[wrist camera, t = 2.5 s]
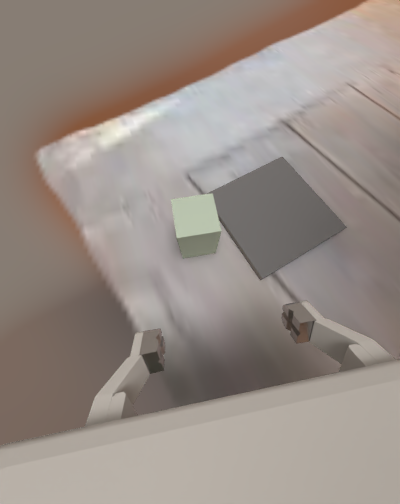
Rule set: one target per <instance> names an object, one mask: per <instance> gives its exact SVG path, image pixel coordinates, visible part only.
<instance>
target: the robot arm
mask: <svg viewBox="0 0 400 504" xmlns="http://www.w3.org/2000/svg"><path fill="white" fill-rule="evenodd" d="M282 309H283V311H284V312H283V313H282V322H283V324H284V326H285V328H286V329H288V330H289V331H290V335H291V337H292V338H293V340H294V341H295V342H296V344H297V343H303V342H309V341H310V343H311V344H313V345H314V346H316V347H317V348H319V349H320V350H322V351H323V352H325V353H326V354H327V355H329V356H330V357H332V358H333V359H335V360H336V361H338V362H339V363H340V364H341V367H340V370H339V372H338V373H333V374H328V375H324V376H319V377H314V378H310V379H305V380H300V381H296V382H291V383H287V384H282V385H277V386H273V387H268V388H263V389H259V390H254V391H249V392H245V393H240V394H235V395H231V396H226V397H222V398H217V399H212V400H208V401H203V402H198V403H194V404H189V405H184V406H180V407H175V408H171V409H166V410H161V411H157V412H152V413H148V414H143V415H138V414H137V412H136V411H135V409H134V407H133V404H134V402H135V401H136V399H137V397H138V395H139V394H140V392H141V390H142V388H143V386H144V385H145V383H146V381H147V379H148V378H149V376H150V374H151V373H156V372H160V371H164V361H165V359H164V356H163V355H164V353H165V342H164V338H163V336H162V331H161V329H154V330H148V331H142V332H136V334H135V337H134V341H133V345H132V350H131V354H130V357H129V358H127V359H126V360H125V361H124V362H123V364H122V365H121V366H120V367H119V368H118V370H117V371H116V372H115V373H114V374H113V376H112V377H111V378H110V379H109V381H108V382H107V383H106V384H105V386H104V387H103V388H102V389H101V390H100V391H99V393H98V394H97V395H96V396H95V399H94V402H93V404H92V407H91V410H90V413H89V416H88V419H87V422H86V425H85V427H82V428H77V429H73V430H68V431H64V432H59V433H54V434H49V435H45V436H40V437H36V438H31V439H27V440H21V441H16V442H12V443H7V444H4V445H2V446H0V504H400V359H398V360H396V359H395V358H393V357H392V356H391V355H390V354H389V353H388V352H387V351H386V350H385V349H383V348H382V347H381V346H380V345H379V344H378V343H377V342H376V341H374V340H373V339H371V338H369V337H367V336H364V335H362V334H360V333H358V332H356V331H354V330H351V329H349V328H347V327H345V326H343V325H340V324H338V323H336V322H334V321H332V320H329V319H325V318H324V317H323V316H322V315H321V314H320V313H319V312H318V311H317V310H316V309H315V308H314V307H313V306H312V305H311V304H310V303H309V302H308V301H300V302H295V303H290V304H285V305H283V308H282Z"/></svg>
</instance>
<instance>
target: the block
mask: <svg viewBox="0 0 400 504" xmlns="http://www.w3.org/2000/svg"><path fill="white" fill-rule="evenodd" d="M171 203H172V210H173V216H174V223H175V230H176V237H177V241H178V244H179V247H180V250H181V253H182V257H183V258H189V257H195V256H201V255H207V254H213V253H216V249H217V246H218V242H219V238H220V234H221V227H220V223H219V218H218V214H217V210H216V205H215V201H214V197H213V193H211V194H204V195H198V196H191V197H184V198H177V199H171Z"/></svg>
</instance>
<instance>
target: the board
mask: <svg viewBox="0 0 400 504" xmlns="http://www.w3.org/2000/svg"><path fill="white" fill-rule="evenodd" d="M211 193H213V197H214V201H215V205H216V210H217V214H218V218H219V220H220V221H221V223H222V224H223V226H224V227H225V229H226V230H227V232H228V233H229V235H230V236H231V238H232V239H233V240H234V242H235V243H236V245H237V246H238V248H239V249H240V251H241V252H242V254H243V255H244V257H245V258H246V260H247V261H248V263H249V264H250V265H251V267H252V268H253V270H254V271H255V273H256V274H257V276H258V277H259V279H260V280H261V279H263V278H265V277H267V276H268V275H270V274H271V273H273V272H275V271H276V270H278V269H280V268H281V267H283V266H285V265H286V264H288V263H289V262H291V261H293V260H294V259H296V258H298V257H299V256H301V255H302V254H304V253H306V252H307V251H309V250H311V249H312V248H314V247H316V246H317V245H319V244H320V243H322V242H324V241H325V240H327V239H329V238H330V237H332V236H333V235H335V234H337V233H338V232H340V231H342V230H343V229H345V228H347V227H346V226H345V225H344V224H343V222H342V221H341V220H340V219H339V218H338V217H337V216H336V215H335V214H334V213H333V211H332V210H331V209H330V208H329V207H328V206H327V205H326V204H325V203H324V202H323V201H322V199H321V198H320V197H319V196H318V195H317V194H316V193H315V192H314V191H313V190H312V188H311V187H310V186H309V185H308V184H307V183H306V182H305V181H304V180H303V179H302V177H301V176H300V175H299V174H298V173H297V172H296V171H295V170H294V169H293V168H292V167H291V165H290V164H289V163H288V162H287V161H286V160H285V159H284V158H283V157H280V158H278V159H276V160H274V161H272V162H270V163H268V164H266V165H264V166H262V167H260V168H258V169H256V170H254V171H252V172H250V173H248V174H246V175H244V176H242V177H240V178H238V179H236V180H234V181H232V182H230V183H228V184H226V185H224V186H222V187H220V188H217V189H215V190H213V191H211V192H209V193H207V194H211Z"/></svg>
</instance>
